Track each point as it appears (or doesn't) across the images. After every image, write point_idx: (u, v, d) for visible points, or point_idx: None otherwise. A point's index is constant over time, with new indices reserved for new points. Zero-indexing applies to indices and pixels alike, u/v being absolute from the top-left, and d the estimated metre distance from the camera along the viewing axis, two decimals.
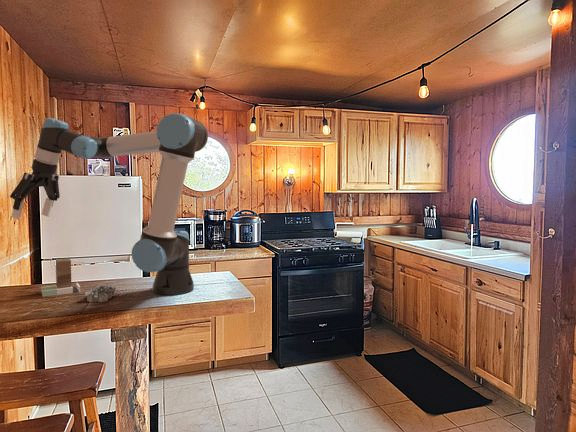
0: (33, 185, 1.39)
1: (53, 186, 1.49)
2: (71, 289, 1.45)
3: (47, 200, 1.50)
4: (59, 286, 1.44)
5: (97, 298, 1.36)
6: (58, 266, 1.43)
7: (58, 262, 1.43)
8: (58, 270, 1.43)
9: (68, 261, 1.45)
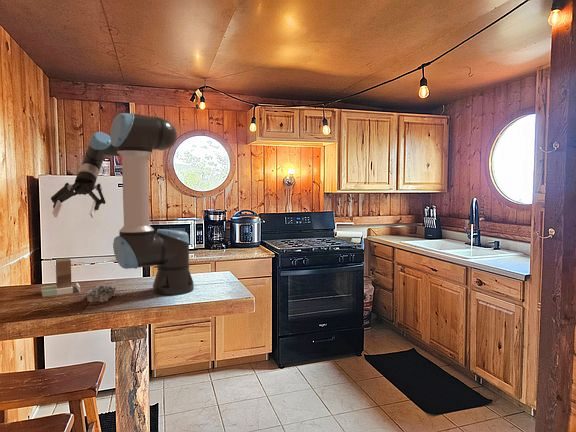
0: None
1: None
2: (71, 289, 1.45)
3: None
4: (59, 286, 1.44)
5: (97, 298, 1.36)
6: (58, 266, 1.43)
7: (58, 262, 1.43)
8: (58, 270, 1.43)
9: (68, 261, 1.45)
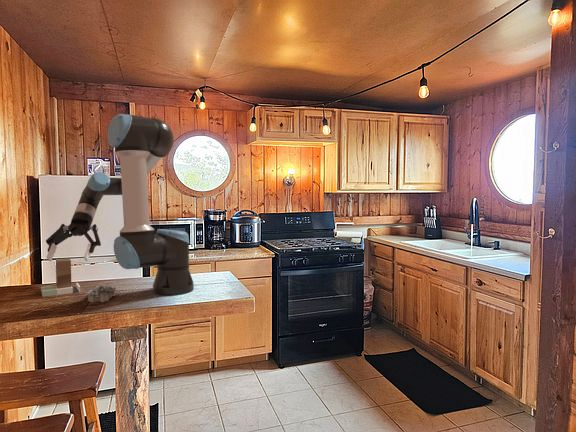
0: None
1: (94, 234, 1.59)
2: (71, 289, 1.45)
3: None
4: (59, 286, 1.44)
5: (98, 298, 1.36)
6: (58, 266, 1.43)
7: (58, 262, 1.43)
8: (58, 270, 1.43)
9: (68, 261, 1.45)
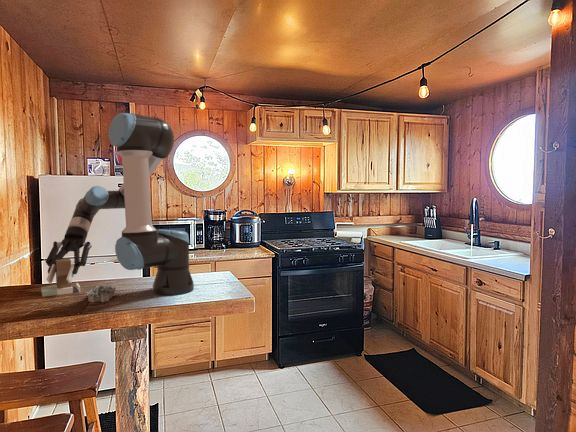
0: None
1: None
2: (71, 289, 1.45)
3: None
4: (59, 286, 1.44)
5: (98, 298, 1.36)
6: (58, 266, 1.43)
7: (58, 262, 1.43)
8: (58, 270, 1.43)
9: (68, 261, 1.45)
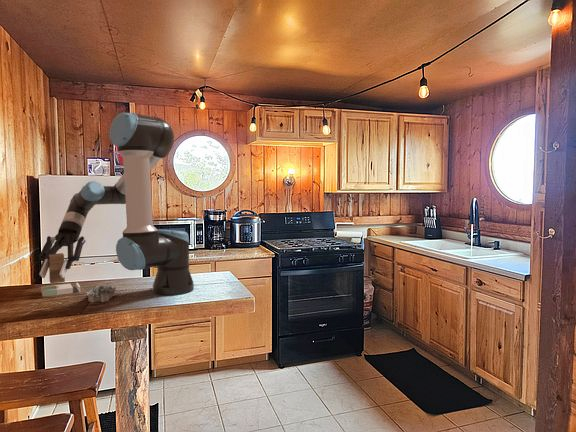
0: None
1: None
2: (71, 289, 1.45)
3: None
4: (52, 281, 1.43)
5: (99, 298, 1.36)
6: (51, 261, 1.42)
7: (51, 257, 1.42)
8: (51, 265, 1.42)
9: (61, 256, 1.44)
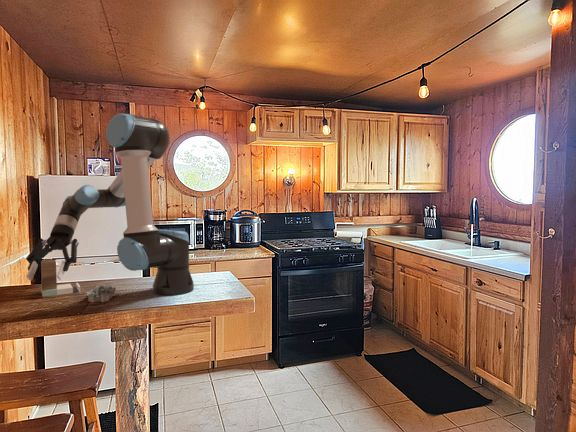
0: None
1: None
2: (71, 289, 1.45)
3: None
4: (44, 288, 1.41)
5: (99, 298, 1.36)
6: (43, 267, 1.41)
7: (43, 263, 1.40)
8: (43, 271, 1.41)
9: (53, 262, 1.42)
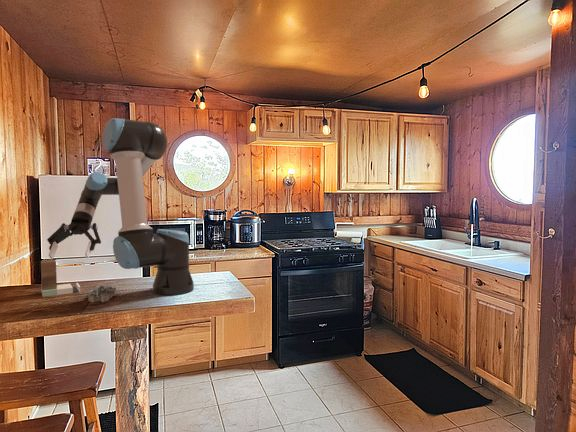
0: None
1: (94, 233, 1.64)
2: (71, 289, 1.45)
3: None
4: (44, 288, 1.41)
5: (99, 298, 1.36)
6: (43, 267, 1.41)
7: (43, 263, 1.40)
8: (43, 271, 1.41)
9: (53, 262, 1.42)
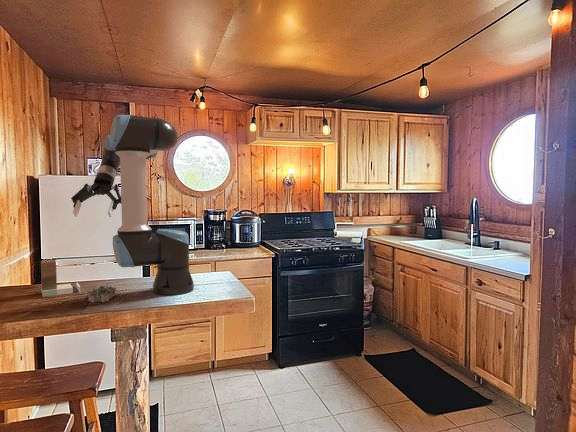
0: None
1: (116, 193, 1.69)
2: (71, 289, 1.45)
3: None
4: (44, 288, 1.41)
5: (99, 298, 1.36)
6: (43, 267, 1.41)
7: (43, 263, 1.40)
8: (43, 271, 1.41)
9: (53, 262, 1.42)
